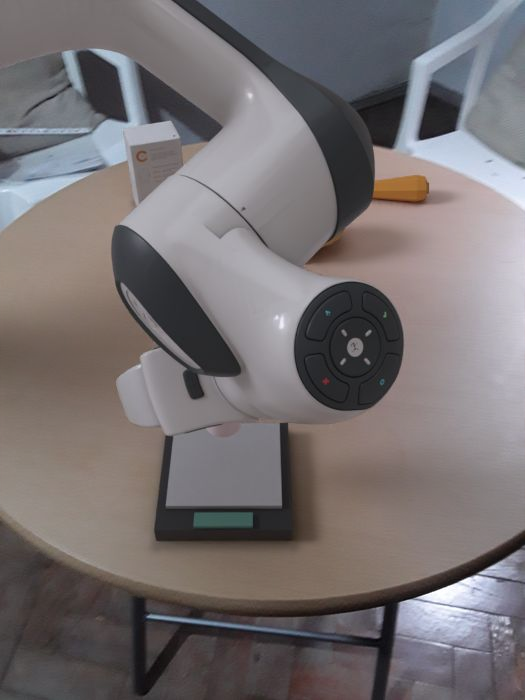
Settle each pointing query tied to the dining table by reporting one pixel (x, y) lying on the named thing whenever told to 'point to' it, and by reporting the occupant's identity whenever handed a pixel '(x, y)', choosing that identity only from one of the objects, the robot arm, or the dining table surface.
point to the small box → (151, 156)
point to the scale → (226, 486)
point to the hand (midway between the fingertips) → (217, 365)
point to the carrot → (402, 188)
